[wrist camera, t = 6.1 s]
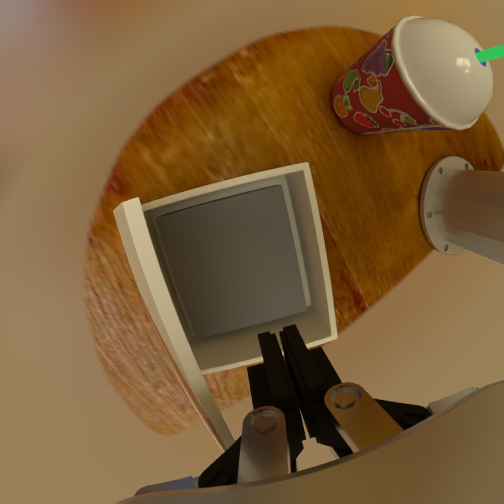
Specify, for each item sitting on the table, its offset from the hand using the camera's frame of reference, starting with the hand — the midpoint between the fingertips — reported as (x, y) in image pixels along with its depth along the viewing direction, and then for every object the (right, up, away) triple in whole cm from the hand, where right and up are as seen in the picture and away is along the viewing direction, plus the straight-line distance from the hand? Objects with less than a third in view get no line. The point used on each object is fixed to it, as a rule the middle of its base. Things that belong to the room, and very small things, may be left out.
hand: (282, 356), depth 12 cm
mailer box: (-3, +4, +16) cm, 17 cm away
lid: (-6, -1, +3) cm, 6 cm away
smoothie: (+10, +20, +13) cm, 26 cm away
